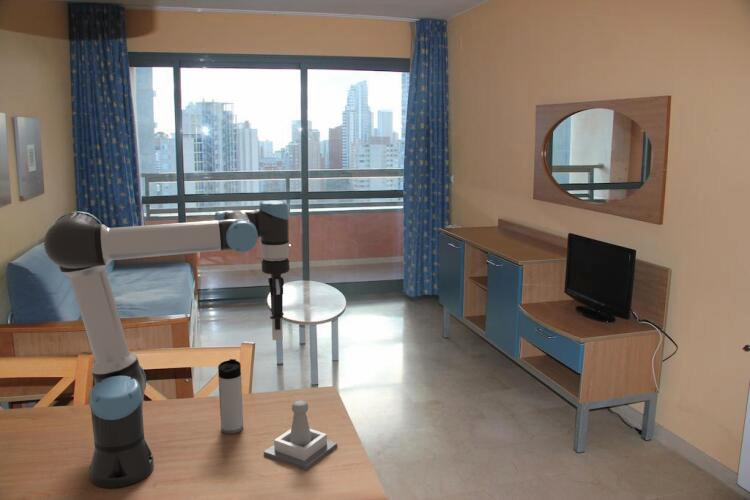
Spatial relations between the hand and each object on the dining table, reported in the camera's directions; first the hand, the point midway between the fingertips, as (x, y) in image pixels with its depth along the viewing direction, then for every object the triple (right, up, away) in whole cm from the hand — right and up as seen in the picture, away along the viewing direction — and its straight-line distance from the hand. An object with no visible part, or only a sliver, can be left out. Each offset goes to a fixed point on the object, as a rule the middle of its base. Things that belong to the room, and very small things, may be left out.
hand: (277, 338), depth 180 cm
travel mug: (-13, -26, +4) cm, 30 cm away
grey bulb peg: (+7, -28, -8) cm, 30 cm away
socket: (+8, -29, -8) cm, 31 cm away
